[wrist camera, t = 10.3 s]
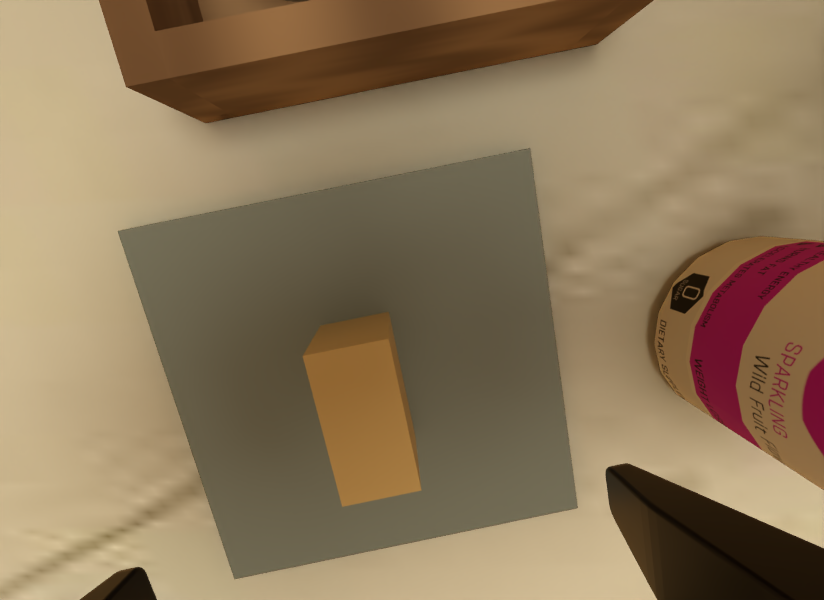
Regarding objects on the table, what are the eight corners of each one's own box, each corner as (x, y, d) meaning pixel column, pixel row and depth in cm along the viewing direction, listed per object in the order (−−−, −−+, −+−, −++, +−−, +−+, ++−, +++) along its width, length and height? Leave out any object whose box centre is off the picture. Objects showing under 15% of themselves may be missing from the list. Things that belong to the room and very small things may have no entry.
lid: (521, 152, 19) (568, 132, 14) (568, 492, 23) (619, 574, 18) (134, 229, 19) (41, 238, 14) (242, 559, 23) (200, 662, 18)
